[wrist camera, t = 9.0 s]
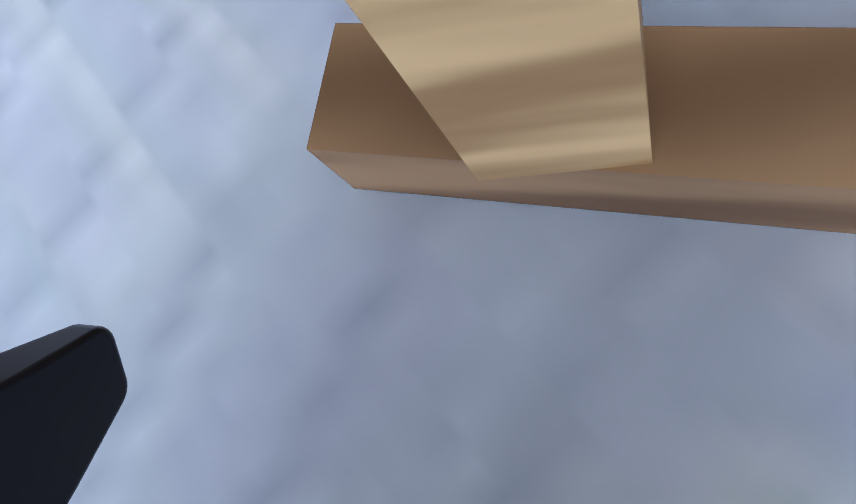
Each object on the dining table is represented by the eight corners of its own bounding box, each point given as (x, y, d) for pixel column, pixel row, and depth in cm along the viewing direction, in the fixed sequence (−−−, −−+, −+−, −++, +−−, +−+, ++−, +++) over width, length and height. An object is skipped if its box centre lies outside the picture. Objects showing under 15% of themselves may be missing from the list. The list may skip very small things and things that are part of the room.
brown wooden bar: (1005, 247, 19) (1071, 205, 16) (354, 188, 25) (306, 148, 22) (1011, 99, 20) (1075, 29, 16) (378, 76, 26) (335, 23, 23)
